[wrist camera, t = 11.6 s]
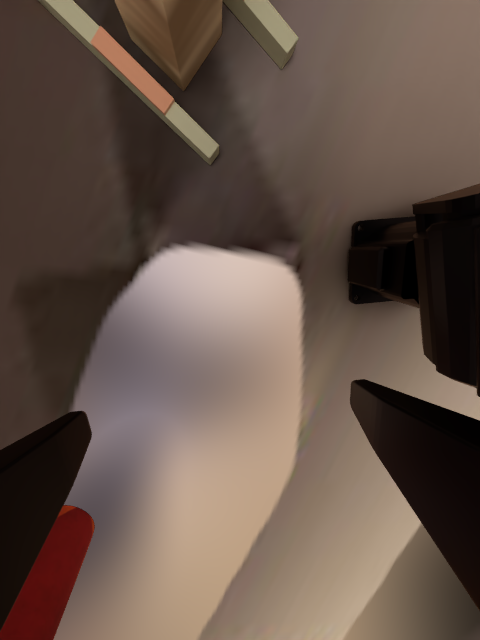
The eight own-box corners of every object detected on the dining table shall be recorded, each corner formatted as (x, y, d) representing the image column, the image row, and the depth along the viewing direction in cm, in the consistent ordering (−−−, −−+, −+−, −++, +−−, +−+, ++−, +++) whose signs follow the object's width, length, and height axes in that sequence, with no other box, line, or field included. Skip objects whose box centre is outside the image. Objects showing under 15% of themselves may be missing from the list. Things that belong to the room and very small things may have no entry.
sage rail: (291, 56, 17) (306, 16, 14) (210, 165, 18) (208, 150, 15) (115, -156, 14) (87, -264, 11) (33, -4, 15) (-12, -64, 12)
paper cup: (26, 492, 25) (-206, 788, 11) (109, 501, 26) (-13, 781, 12) (25, 550, 27) (-174, 860, 13) (102, 555, 28) (-10, 848, 14)
